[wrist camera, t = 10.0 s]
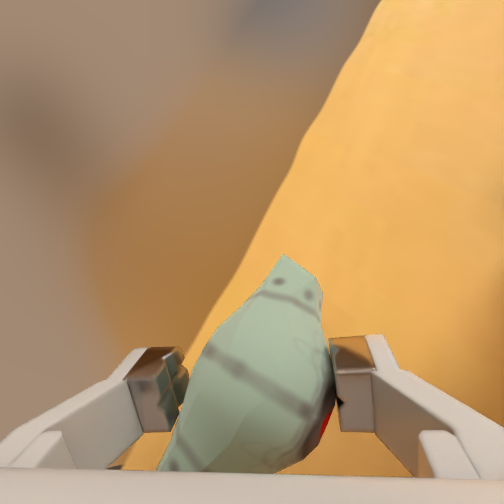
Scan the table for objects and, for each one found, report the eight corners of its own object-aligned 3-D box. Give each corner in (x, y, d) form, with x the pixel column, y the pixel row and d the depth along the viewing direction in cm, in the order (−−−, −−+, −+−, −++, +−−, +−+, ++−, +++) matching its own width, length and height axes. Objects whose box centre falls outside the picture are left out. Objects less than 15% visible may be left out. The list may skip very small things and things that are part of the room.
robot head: (280, 292, 15) (255, 213, 9) (363, 331, 13) (397, 265, 7) (188, 459, 12) (70, 499, 6) (277, 533, 11) (226, 674, 5)
